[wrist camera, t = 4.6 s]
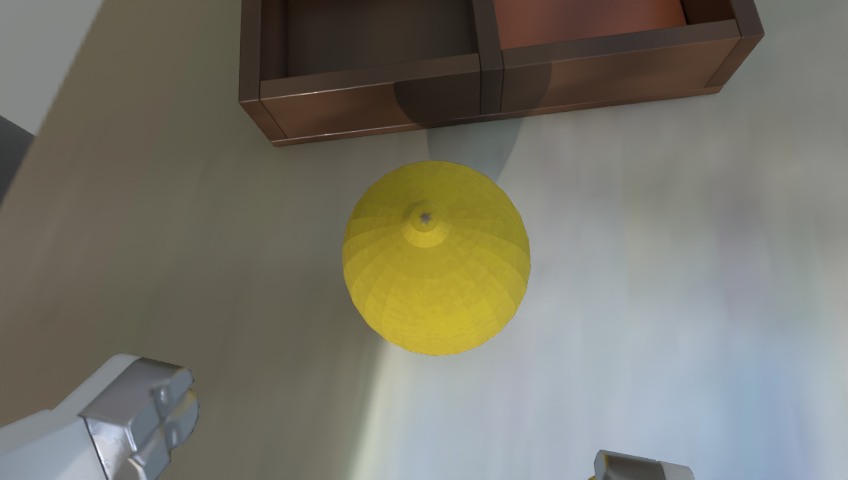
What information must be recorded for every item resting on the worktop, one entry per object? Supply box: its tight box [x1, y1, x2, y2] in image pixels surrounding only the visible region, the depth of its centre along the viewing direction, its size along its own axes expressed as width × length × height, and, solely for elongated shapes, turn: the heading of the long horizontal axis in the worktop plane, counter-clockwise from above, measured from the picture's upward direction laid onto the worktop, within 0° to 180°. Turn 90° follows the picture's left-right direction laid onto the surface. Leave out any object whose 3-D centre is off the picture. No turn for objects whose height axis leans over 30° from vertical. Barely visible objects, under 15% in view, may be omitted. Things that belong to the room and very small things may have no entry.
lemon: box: [342, 161, 531, 356], centre depth 15 cm, size 6×6×8 cm
